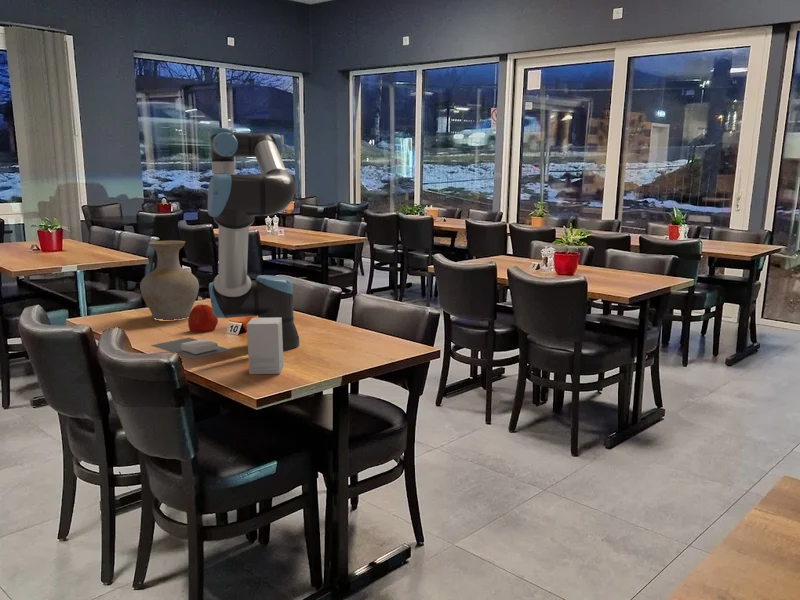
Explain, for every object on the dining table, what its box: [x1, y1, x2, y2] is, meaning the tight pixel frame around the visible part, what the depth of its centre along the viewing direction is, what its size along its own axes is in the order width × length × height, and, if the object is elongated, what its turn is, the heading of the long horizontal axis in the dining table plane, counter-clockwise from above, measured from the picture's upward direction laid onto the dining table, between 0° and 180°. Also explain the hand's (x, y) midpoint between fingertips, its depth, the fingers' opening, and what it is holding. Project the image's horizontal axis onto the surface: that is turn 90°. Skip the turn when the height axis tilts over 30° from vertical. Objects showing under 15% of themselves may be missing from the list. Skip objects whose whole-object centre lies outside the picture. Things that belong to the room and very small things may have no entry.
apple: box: [187, 304, 219, 333], centre depth 239 cm, size 10×10×10 cm
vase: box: [139, 240, 200, 320], centre depth 261 cm, size 22×22×30 cm
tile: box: [181, 338, 219, 354], centre depth 211 cm, size 2×8×8 cm
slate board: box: [151, 337, 232, 360], centre depth 215 cm, size 24×14×1 cm, turn 49°
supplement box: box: [246, 317, 284, 375], centre depth 193 cm, size 9×9×15 cm
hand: (226, 243), depth 232 cm, fingers closed
